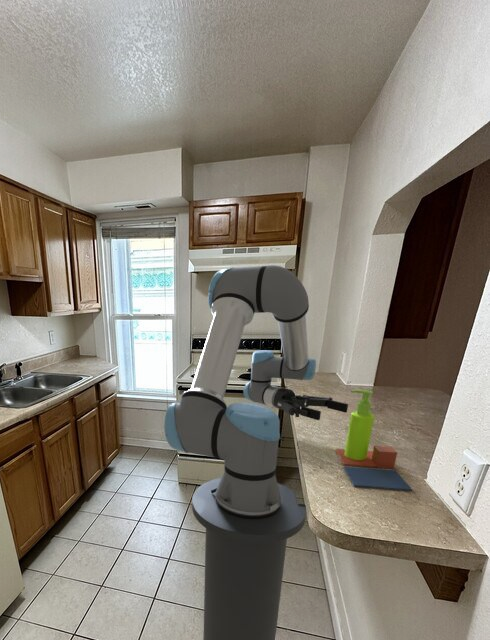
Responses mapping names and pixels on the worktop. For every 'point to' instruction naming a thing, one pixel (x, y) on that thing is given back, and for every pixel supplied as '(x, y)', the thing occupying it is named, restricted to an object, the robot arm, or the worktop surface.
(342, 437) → the worktop surface
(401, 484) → the slate mat
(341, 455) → the terracotta mat
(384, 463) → the terracotta block
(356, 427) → the soap dispenser
